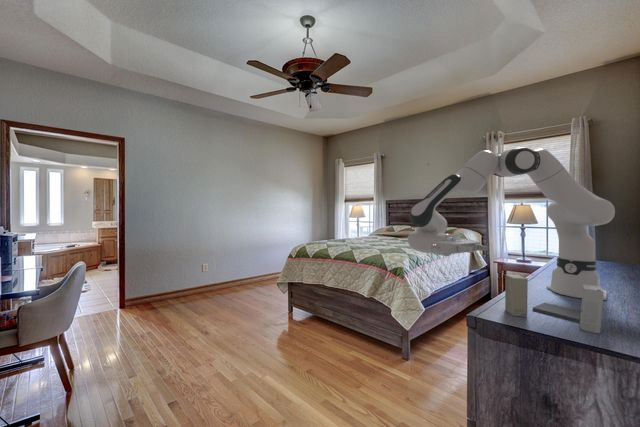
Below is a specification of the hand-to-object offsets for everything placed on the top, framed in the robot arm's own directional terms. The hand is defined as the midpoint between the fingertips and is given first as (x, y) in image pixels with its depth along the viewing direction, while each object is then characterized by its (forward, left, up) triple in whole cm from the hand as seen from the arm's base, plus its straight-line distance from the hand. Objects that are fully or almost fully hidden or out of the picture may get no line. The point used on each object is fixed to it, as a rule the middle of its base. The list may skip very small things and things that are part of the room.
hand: (479, 249), depth 106 cm
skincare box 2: (-5, +30, -19) cm, 36 cm away
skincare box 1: (0, +12, -19) cm, 23 cm away
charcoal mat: (-13, +20, -19) cm, 31 cm away
